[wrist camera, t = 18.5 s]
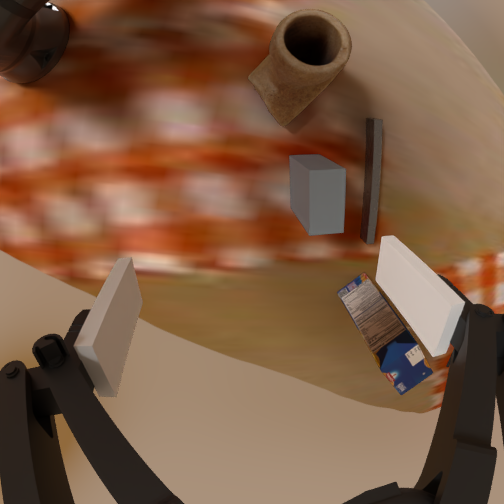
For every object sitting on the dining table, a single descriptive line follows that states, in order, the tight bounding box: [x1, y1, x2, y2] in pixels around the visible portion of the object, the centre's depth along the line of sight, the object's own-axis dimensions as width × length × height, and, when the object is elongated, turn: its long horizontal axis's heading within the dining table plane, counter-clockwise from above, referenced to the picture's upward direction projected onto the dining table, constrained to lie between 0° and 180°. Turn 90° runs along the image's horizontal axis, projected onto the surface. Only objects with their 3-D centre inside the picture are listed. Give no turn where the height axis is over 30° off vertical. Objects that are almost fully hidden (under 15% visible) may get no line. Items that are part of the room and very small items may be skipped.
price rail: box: [360, 118, 382, 244], centre depth 52 cm, size 2×22×3 cm, turn 2°
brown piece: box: [248, 9, 352, 127], centre depth 37 cm, size 15×12×15 cm
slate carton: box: [289, 154, 346, 236], centre depth 47 cm, size 9×5×12 cm, turn 4°
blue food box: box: [337, 272, 433, 395], centre depth 54 cm, size 7×11×22 cm, turn 39°
